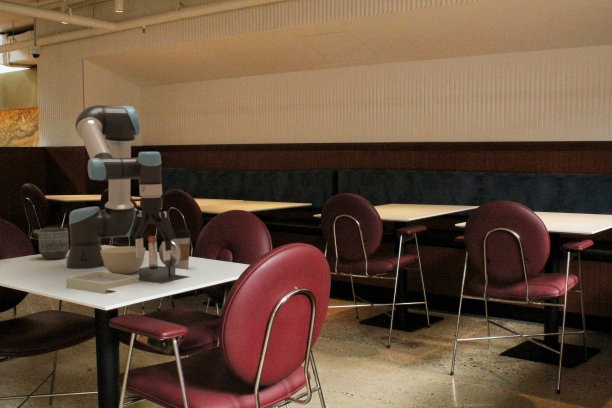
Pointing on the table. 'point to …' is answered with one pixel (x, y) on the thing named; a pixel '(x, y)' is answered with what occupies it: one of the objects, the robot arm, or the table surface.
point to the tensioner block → (161, 272)
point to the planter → (53, 243)
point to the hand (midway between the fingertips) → (153, 258)
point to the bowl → (121, 259)
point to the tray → (99, 287)
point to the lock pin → (152, 252)
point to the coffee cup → (183, 247)
